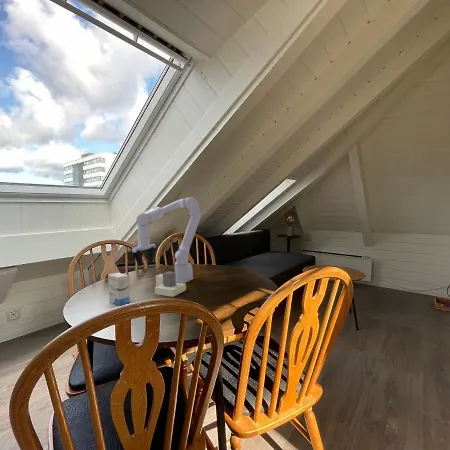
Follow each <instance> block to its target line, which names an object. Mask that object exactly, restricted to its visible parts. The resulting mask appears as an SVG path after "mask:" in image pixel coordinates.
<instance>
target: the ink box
mask: <svg viewBox="0 0 450 450" xmlns="http://www.w3.org/2000/svg"><path fill="white" fill-rule="evenodd" d="M107 281H108V297H109V303H111V302H112V304H114V303H115V304H114V305H116V304H117V306H119V307H121V306H123V305H124V306H125V305H126V304H129V303H130V301H131V300H130V299H131V298H130V287H129V275H127V274H124V273H121V272H115V273H109V274H107ZM120 305H121V306H120Z"/></svg>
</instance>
